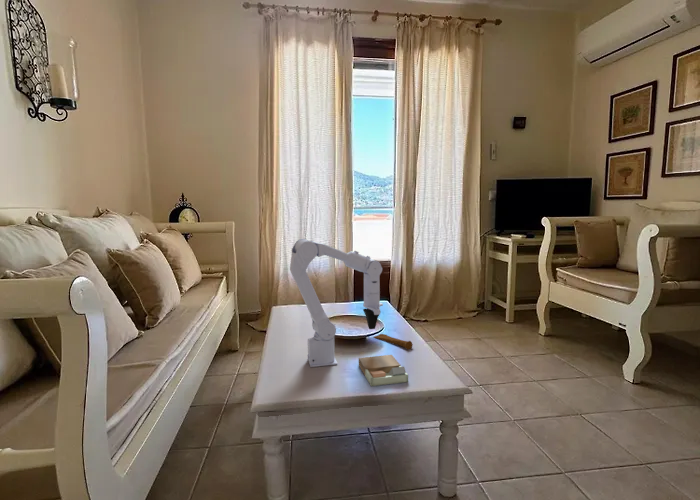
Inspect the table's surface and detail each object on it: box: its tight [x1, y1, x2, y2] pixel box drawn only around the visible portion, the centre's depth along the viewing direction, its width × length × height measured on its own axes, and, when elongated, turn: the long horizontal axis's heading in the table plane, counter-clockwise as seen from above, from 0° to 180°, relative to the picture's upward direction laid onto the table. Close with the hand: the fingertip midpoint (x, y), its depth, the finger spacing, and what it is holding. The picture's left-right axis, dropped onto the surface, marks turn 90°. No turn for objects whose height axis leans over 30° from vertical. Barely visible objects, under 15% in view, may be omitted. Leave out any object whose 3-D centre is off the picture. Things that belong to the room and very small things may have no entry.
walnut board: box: [358, 354, 402, 376], centre depth 133 cm, size 12×9×3 cm
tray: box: [364, 365, 409, 387], centre depth 125 cm, size 12×7×2 cm, turn 103°
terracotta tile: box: [370, 371, 386, 378], centre depth 124 cm, size 4×4×2 cm
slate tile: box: [389, 366, 407, 376], centre depth 125 cm, size 4×4×2 cm
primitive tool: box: [372, 333, 414, 351], centre depth 158 cm, size 19×6×4 cm, turn 40°
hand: (371, 328), depth 144 cm, fingers closed
